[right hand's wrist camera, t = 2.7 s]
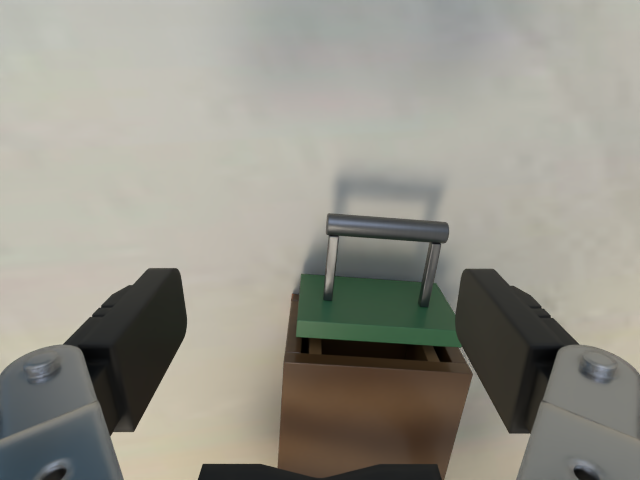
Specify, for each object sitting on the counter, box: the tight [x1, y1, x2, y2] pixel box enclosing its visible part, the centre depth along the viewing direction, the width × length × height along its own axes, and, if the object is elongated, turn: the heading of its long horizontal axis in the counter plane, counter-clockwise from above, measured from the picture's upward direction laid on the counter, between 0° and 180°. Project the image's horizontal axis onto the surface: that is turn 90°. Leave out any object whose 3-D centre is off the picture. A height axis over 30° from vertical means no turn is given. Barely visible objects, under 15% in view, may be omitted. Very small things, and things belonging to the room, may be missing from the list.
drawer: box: [296, 213, 462, 362], centre depth 29 cm, size 25×10×6 cm, turn 175°
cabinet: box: [278, 294, 473, 480], centre depth 31 cm, size 21×11×8 cm, turn 175°
